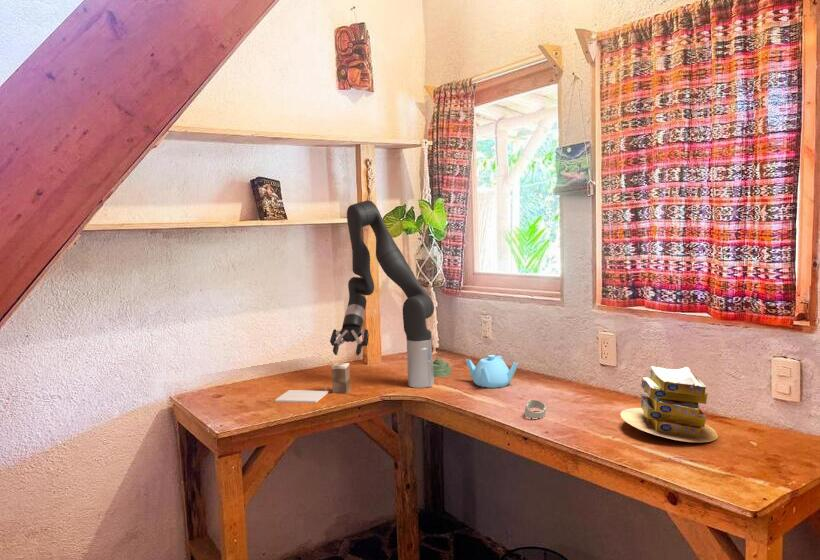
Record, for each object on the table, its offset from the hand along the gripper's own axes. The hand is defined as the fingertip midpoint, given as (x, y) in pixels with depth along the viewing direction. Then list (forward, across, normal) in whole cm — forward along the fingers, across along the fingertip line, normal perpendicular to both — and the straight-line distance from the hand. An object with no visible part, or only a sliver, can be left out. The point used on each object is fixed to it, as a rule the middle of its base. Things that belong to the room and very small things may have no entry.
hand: (346, 354), depth 229 cm
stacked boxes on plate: (+37, +105, -20) cm, 113 cm away
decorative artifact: (-6, +31, +24) cm, 40 cm away
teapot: (+4, +53, +13) cm, 55 cm away
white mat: (+20, -12, -2) cm, 23 cm away
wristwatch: (+30, +69, -12) cm, 76 cm away
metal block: (+14, 0, +3) cm, 14 cm away
